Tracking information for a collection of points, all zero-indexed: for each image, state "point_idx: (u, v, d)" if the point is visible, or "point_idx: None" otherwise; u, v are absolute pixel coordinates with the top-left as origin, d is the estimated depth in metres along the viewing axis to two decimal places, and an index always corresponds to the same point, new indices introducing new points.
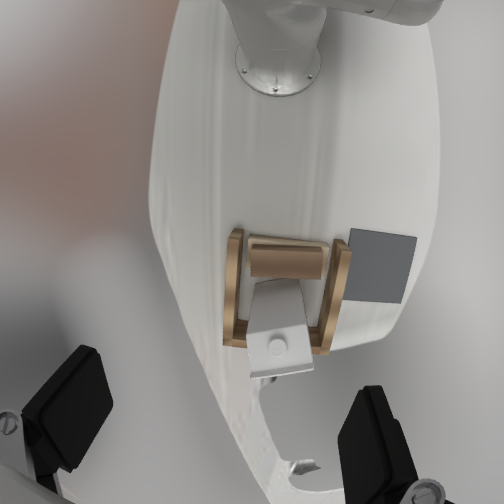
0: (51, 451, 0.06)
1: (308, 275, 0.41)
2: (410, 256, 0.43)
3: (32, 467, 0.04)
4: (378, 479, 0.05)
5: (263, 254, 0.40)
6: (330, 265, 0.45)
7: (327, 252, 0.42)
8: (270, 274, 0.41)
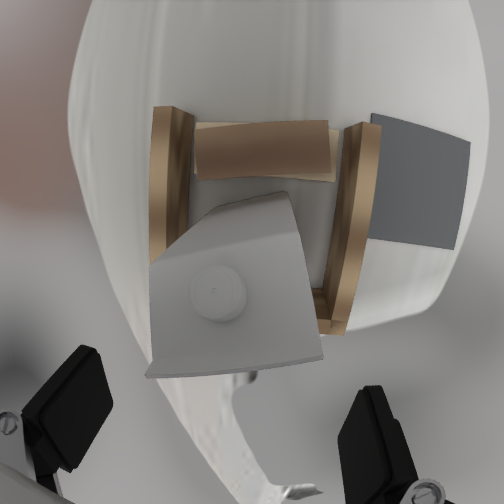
0: (52, 450, 0.06)
1: (306, 166, 0.21)
2: (464, 170, 0.23)
3: (32, 467, 0.04)
4: (378, 479, 0.05)
5: (216, 135, 0.20)
6: (342, 171, 0.25)
7: (336, 138, 0.22)
8: (233, 171, 0.21)
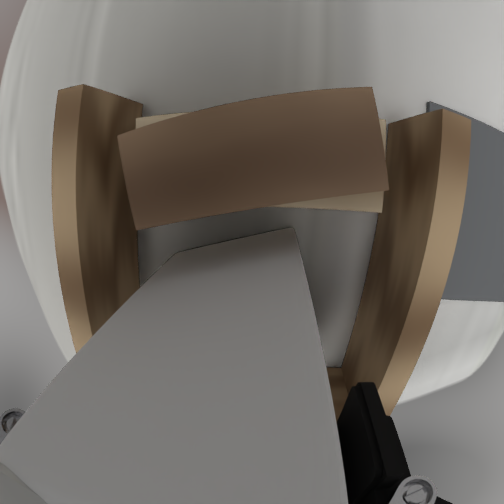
0: None
1: (341, 181, 0.10)
2: None
3: None
4: (369, 475, 0.05)
5: (157, 138, 0.10)
6: (386, 196, 0.14)
7: None
8: (197, 206, 0.11)
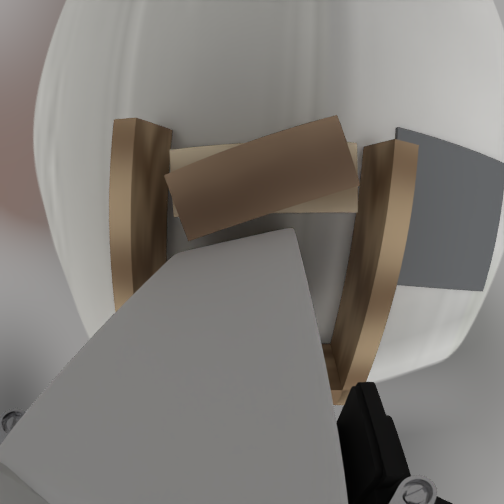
0: None
1: (326, 185, 0.15)
2: (498, 197, 0.18)
3: None
4: (369, 475, 0.05)
5: (195, 174, 0.15)
6: (360, 203, 0.19)
7: (354, 154, 0.17)
8: (231, 217, 0.16)
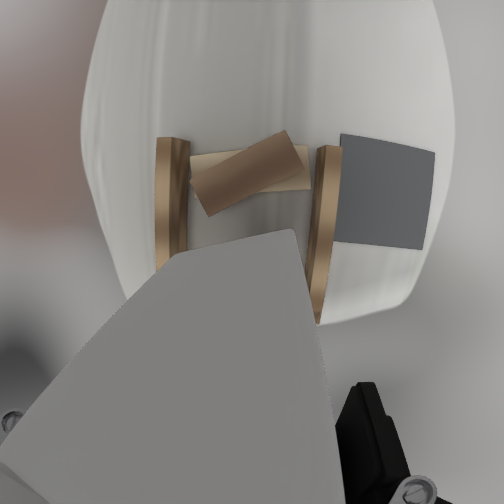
0: None
1: (284, 172, 0.26)
2: (429, 178, 0.29)
3: None
4: (369, 475, 0.05)
5: (207, 177, 0.26)
6: (315, 186, 0.30)
7: (306, 152, 0.27)
8: (232, 199, 0.27)
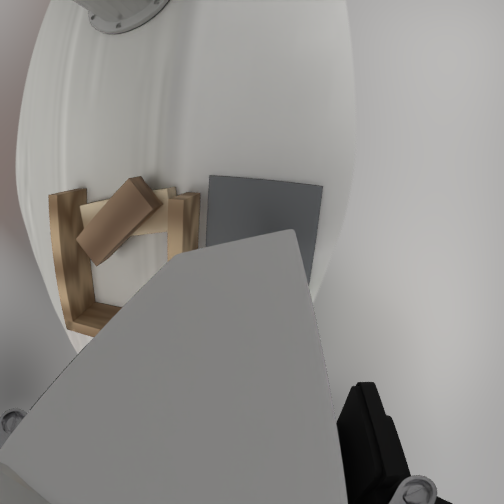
0: None
1: (137, 216, 0.27)
2: (313, 216, 0.31)
3: None
4: (369, 475, 0.05)
5: (86, 234, 0.28)
6: None
7: (166, 196, 0.29)
8: (107, 248, 0.28)
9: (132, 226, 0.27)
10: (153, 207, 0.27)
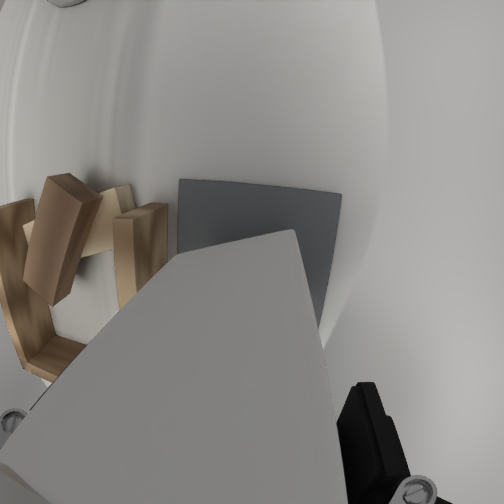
0: None
1: (69, 222, 0.17)
2: (328, 237, 0.21)
3: None
4: (369, 475, 0.05)
5: (29, 269, 0.19)
6: None
7: (115, 197, 0.20)
8: (53, 279, 0.19)
9: (68, 237, 0.18)
10: (83, 201, 0.17)
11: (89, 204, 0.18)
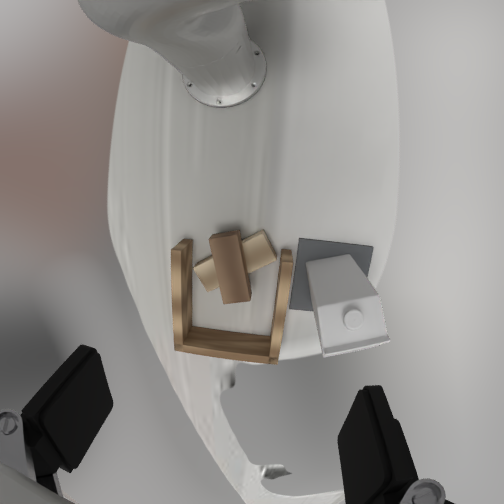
0: (51, 451, 0.06)
1: (235, 248, 0.40)
2: (366, 266, 0.44)
3: (32, 467, 0.04)
4: (378, 479, 0.05)
5: (225, 293, 0.42)
6: (278, 275, 0.45)
7: (263, 238, 0.42)
8: (243, 284, 0.41)
9: (239, 255, 0.40)
10: (236, 234, 0.40)
11: (238, 235, 0.41)
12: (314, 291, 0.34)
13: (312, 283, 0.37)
